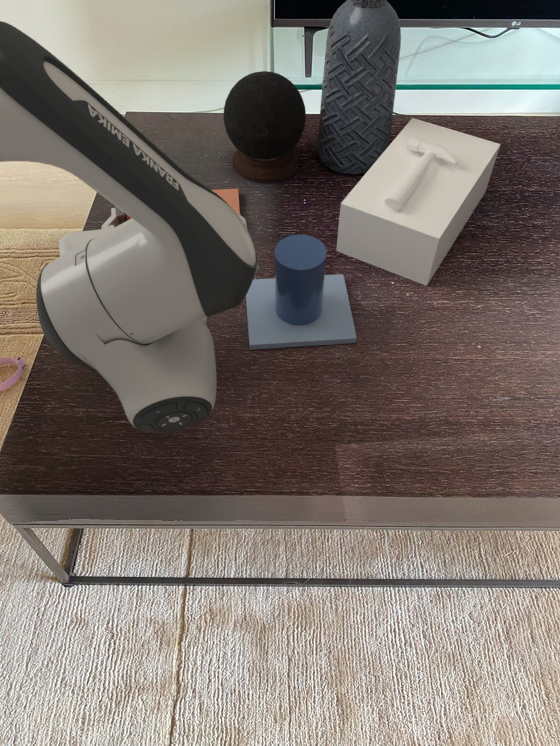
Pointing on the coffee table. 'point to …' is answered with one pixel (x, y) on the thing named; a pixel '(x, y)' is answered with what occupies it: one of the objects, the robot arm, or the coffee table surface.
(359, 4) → the vase
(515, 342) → the coffee table surface
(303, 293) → the navy blue cylinder
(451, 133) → the hammer relief block
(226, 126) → the black ball on stand
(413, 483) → the coffee table surface
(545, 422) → the coffee table surface
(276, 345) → the blue mat
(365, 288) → the coffee table surface
